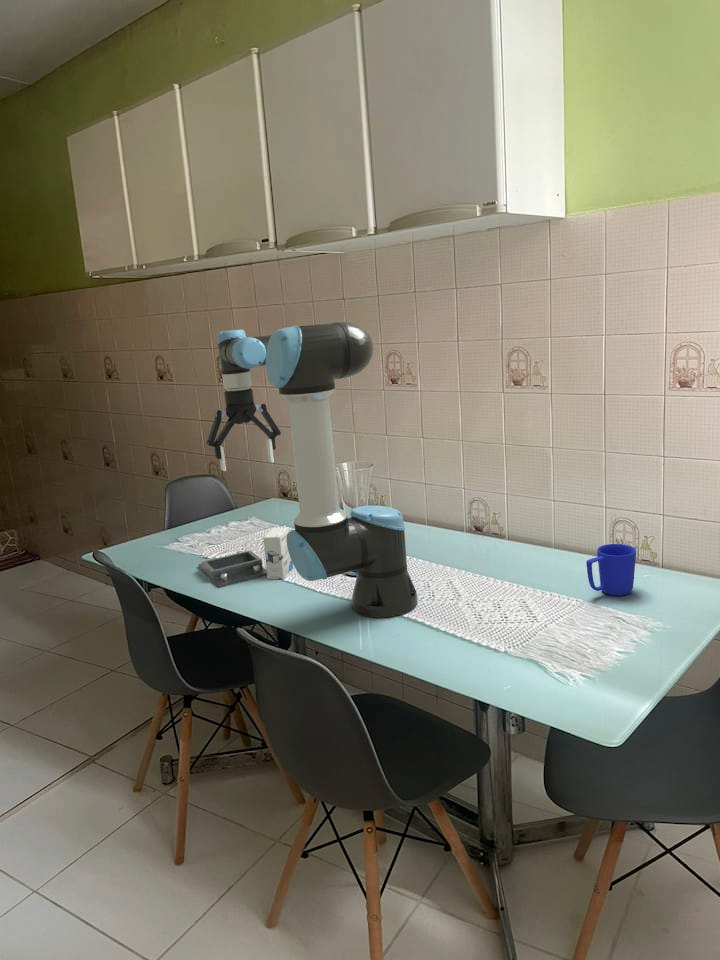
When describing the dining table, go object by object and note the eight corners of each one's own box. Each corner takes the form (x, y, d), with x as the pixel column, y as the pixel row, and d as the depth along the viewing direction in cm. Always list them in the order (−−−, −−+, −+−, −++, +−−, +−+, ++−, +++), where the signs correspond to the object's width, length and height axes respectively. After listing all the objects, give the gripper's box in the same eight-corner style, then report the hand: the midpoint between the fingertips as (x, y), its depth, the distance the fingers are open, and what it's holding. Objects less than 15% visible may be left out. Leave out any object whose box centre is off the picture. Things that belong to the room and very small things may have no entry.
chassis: (269, 575, 195) (267, 564, 194) (218, 587, 189) (217, 577, 188) (245, 555, 212) (244, 546, 211) (198, 567, 206) (197, 557, 205)
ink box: (277, 567, 200) (272, 527, 197) (294, 567, 199) (289, 526, 196) (267, 579, 191) (261, 537, 189) (285, 579, 190) (280, 536, 188)
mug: (576, 593, 165) (575, 552, 162) (618, 581, 169) (617, 541, 167) (601, 605, 157) (600, 562, 155) (644, 593, 162) (644, 550, 160)
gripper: (277, 382, 203) (285, 456, 208) (188, 393, 193) (199, 471, 198) (286, 383, 196) (295, 460, 201) (195, 395, 186) (206, 476, 191)
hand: (247, 466), depth 199 cm, fingers open, 13 cm apart
